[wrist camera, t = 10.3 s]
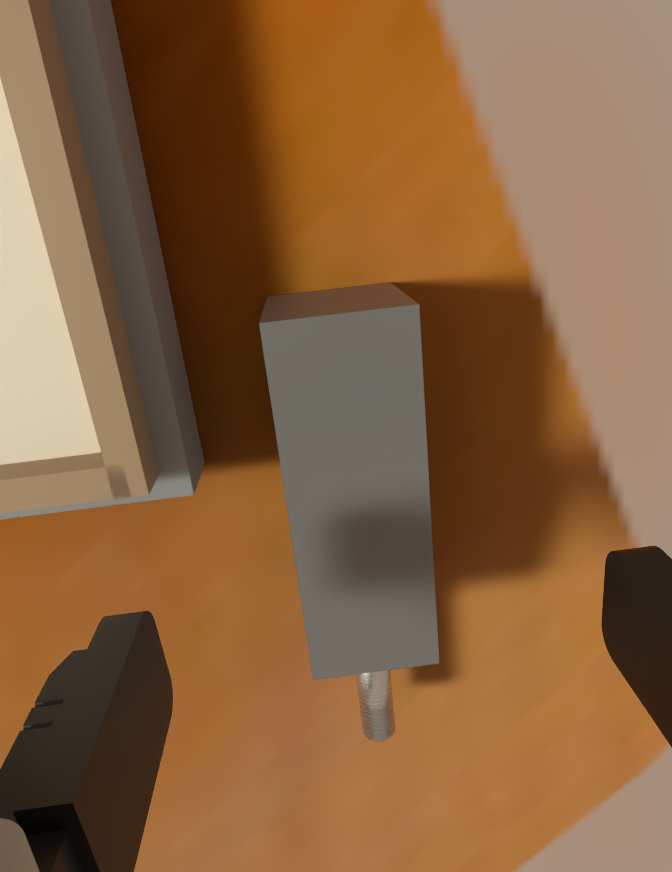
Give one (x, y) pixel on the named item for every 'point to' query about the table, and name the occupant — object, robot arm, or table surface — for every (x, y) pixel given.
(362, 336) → the grey block with bolt
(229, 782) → the table surface
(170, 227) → the table surface
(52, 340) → the switch board
